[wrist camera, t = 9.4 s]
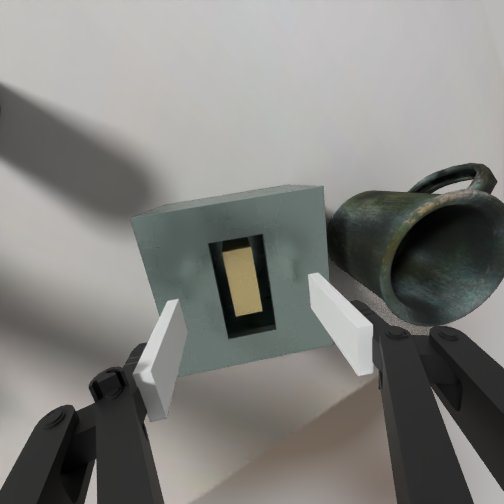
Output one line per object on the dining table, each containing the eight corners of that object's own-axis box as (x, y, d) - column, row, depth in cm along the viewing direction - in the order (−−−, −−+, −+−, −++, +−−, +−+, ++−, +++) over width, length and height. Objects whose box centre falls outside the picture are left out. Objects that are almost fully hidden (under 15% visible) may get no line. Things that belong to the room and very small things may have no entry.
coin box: (192, 315, 30) (178, 377, 21) (164, 204, 26) (129, 218, 17) (299, 295, 31) (333, 344, 22) (288, 184, 27) (323, 185, 18)
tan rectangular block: (232, 280, 29) (236, 316, 21) (222, 232, 27) (222, 252, 19) (252, 276, 29) (262, 310, 21) (243, 228, 27) (251, 246, 19)
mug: (303, 246, 29) (353, 287, 18) (380, 141, 27) (496, 111, 15) (365, 289, 32) (443, 348, 21) (440, 197, 30) (577, 206, 18)
